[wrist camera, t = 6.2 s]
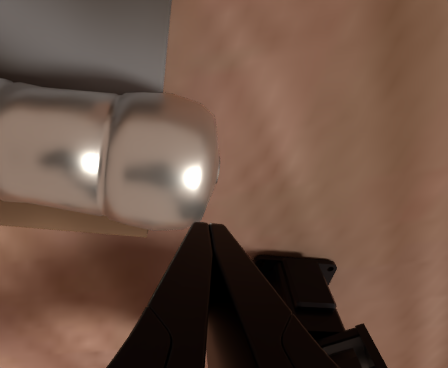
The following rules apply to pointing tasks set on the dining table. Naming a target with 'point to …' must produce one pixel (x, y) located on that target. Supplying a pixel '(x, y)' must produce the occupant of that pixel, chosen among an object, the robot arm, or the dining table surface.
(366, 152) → the dining table surface
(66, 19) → the bottle rest
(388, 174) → the dining table surface
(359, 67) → the dining table surface
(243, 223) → the dining table surface
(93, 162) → the plastic bottle
